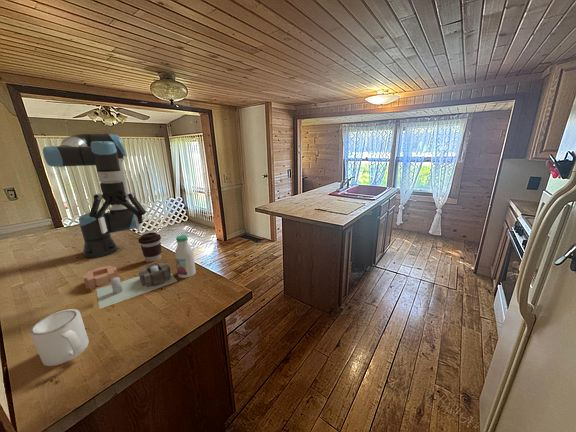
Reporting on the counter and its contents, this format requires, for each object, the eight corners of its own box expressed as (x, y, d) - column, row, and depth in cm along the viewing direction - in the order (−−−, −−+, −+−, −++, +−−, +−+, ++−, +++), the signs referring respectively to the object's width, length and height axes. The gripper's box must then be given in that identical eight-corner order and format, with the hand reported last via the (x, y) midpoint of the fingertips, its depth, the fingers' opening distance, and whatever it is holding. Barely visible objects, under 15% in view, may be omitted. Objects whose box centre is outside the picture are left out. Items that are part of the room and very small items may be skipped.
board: (97, 292, 95) (92, 276, 93) (167, 270, 112) (164, 256, 110) (100, 312, 84) (95, 294, 82) (177, 284, 101) (175, 269, 99)
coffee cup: (155, 266, 116) (150, 239, 111) (138, 264, 118) (132, 237, 113) (168, 257, 125) (164, 231, 121) (153, 255, 127) (148, 230, 123)
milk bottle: (192, 270, 113) (187, 232, 107) (198, 276, 107) (193, 236, 101) (175, 276, 107) (169, 236, 101) (182, 282, 102) (175, 241, 96)
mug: (103, 345, 70) (95, 317, 67) (61, 375, 61) (49, 343, 58) (76, 333, 75) (67, 305, 71) (34, 358, 65) (21, 328, 62)
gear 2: (138, 278, 102) (136, 268, 101) (166, 269, 110) (164, 260, 108) (144, 289, 94) (142, 279, 93) (173, 279, 102) (172, 269, 100)
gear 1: (85, 281, 103) (83, 271, 101) (116, 272, 110) (114, 263, 109) (86, 293, 95) (83, 282, 93) (120, 282, 102) (117, 272, 100)
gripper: (68, 184, 85) (83, 236, 92) (141, 182, 90) (150, 232, 96) (82, 181, 93) (95, 230, 99) (149, 179, 97) (157, 226, 103)
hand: (122, 231), depth 97 cm, fingers open, 13 cm apart
